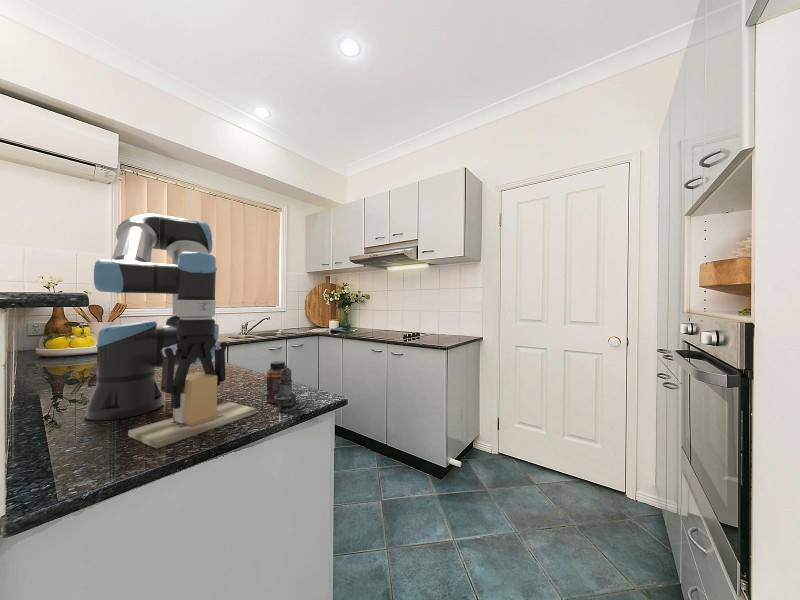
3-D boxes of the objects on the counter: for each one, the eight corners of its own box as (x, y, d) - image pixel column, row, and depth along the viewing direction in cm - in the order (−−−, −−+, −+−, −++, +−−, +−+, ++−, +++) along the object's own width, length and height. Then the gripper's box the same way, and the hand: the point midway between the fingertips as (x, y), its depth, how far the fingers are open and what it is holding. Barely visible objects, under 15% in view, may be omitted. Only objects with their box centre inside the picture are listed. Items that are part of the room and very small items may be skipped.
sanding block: (172, 419, 70) (173, 376, 71) (197, 412, 75) (198, 372, 75) (191, 426, 67) (192, 380, 67) (216, 418, 71) (217, 375, 72)
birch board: (128, 435, 65) (128, 430, 65) (227, 405, 84) (227, 401, 84) (156, 448, 59) (156, 442, 59) (256, 413, 79) (256, 408, 79)
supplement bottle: (291, 400, 89) (292, 362, 90) (271, 405, 85) (272, 364, 85) (282, 396, 93) (282, 359, 94) (262, 400, 89) (263, 362, 89)
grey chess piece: (300, 405, 85) (301, 362, 85) (291, 413, 79) (291, 367, 79) (280, 405, 85) (280, 362, 85) (269, 412, 79) (270, 366, 79)
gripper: (157, 320, 61) (155, 435, 61) (243, 317, 78) (241, 408, 77) (140, 319, 65) (138, 427, 65) (225, 316, 81) (224, 403, 81)
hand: (194, 416), depth 71 cm, fingers closed on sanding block, 5 cm apart
